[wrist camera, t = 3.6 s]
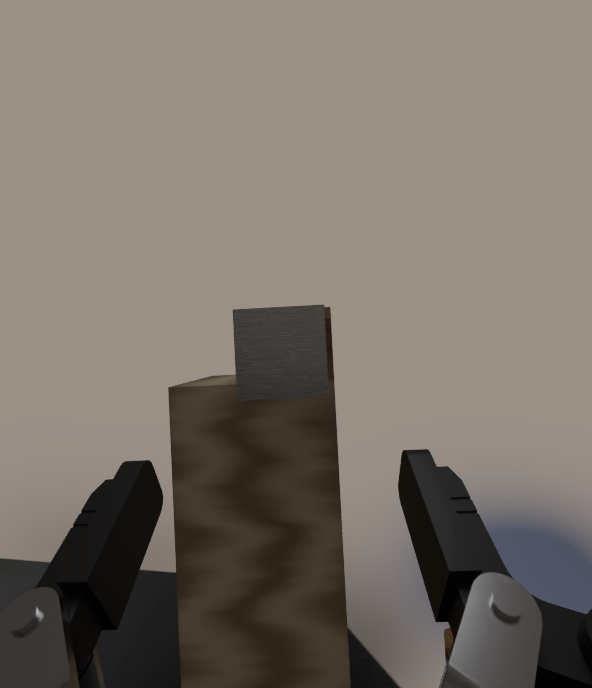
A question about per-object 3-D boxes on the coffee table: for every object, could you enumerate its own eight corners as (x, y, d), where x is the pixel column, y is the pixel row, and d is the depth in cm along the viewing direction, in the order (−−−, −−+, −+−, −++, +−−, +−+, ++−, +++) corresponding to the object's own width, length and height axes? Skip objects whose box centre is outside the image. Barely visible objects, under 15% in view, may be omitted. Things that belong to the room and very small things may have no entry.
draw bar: (237, 401, 15) (232, 309, 15) (277, 371, 37) (275, 333, 37) (329, 396, 15) (324, 304, 15) (315, 370, 37) (313, 331, 37)
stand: (188, 841, 25) (165, 316, 26) (226, 681, 37) (210, 327, 38) (358, 839, 25) (330, 307, 25) (341, 678, 36) (322, 321, 37)
